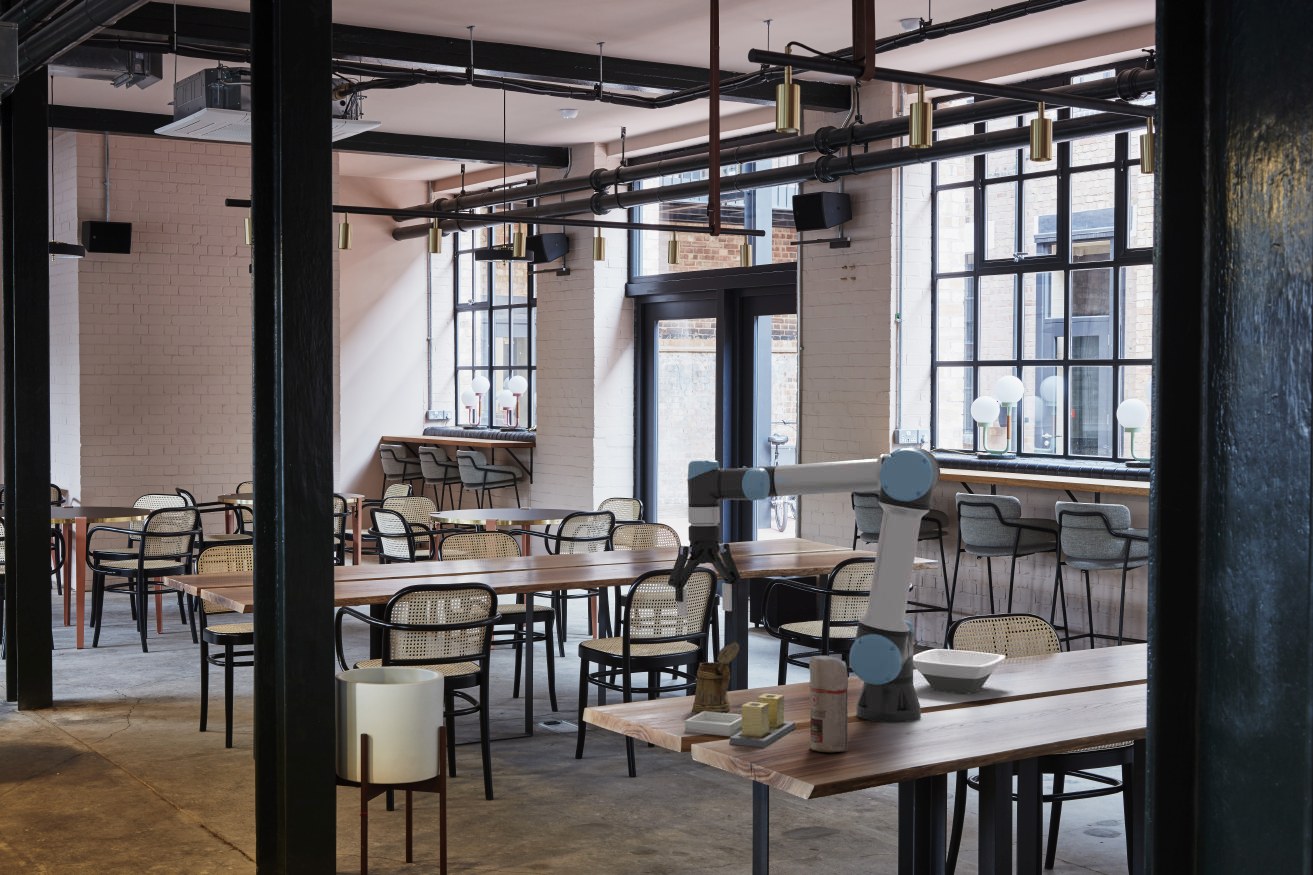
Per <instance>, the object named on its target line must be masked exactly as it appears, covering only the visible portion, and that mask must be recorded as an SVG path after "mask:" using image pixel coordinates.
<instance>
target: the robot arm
mask: <svg viewBox="0 0 1313 875" xmlns="http://www.w3.org/2000/svg"><path fill="white" fill-rule="evenodd" d="M687 466H688V467H687V468H688V469H687V478H686V479H687V500H688V501H687V504H688V505H687V507H688V508H687V509H688V510H687V511H688V512H687V514H688V515H687V516H688V521H687V522H688V523H689V524H690V525H689V526H688V529H687V530H688V532H687V533H688V540H689V546H685V545H679V546H678V552H677V557H676V559H675V563H674V566H673V568H672V571H671V573H670V576H669V578H668V581H667V585H668V586H671V587H672V588H674V589H675V594H674V595H675V597H674V598H675V602H677V616H682V617H687V616H688V588H687V587H685V586H686V584H687V582H688V581H689V580H690V578H691V576H692V574H693V573H694V572H695V570H696V568H697V567H699V565H704V564H712V566H713V567H714V568H715V570H716V571H717V573H718V574H719V576H720V577H721V579H722V580H723V581H724V582H723V583H721V594H722V596H721V597H722V598H721V599H722V600H721V601H722V604H721V605H722V607H721V608H722V609H721V610H722V611H724V612H725V611H727V612H732V611H733V605H732V604H733V602H732V601H733V597H734V595H735V593H734V590H735V589H734V585H735V584H737V582H738V581H740V580H741V575H740V573H739V570H738V568H737V565H736V563H735V560H734V558H733V555H732V554H731V553H732V552H731V546H730V544H729V543H728V542H727V543H726V542H720V543H719V541H720V539H721V534H720V533H721V531H720V530H721V529H720V527H721V526H720V525H718V524H719V523H720V522H721V519H720V513H721V512H720V501H725V500H727V501H731V500H733V501H751V502H753V501H760V500H761V501H762V500H765V499H767V498H774V497H785V496H789V497H790V496H804V495H805V496H806V495H823V494H838V493H839V494H840V493H853V492H854V493H856V492H871V491H873V492H874V491H875V492H876V491H879V494H878V502H877V503H878V505H879V506H880V507H881V509H882V511H883V512H882V513H883V514H882V519H881V523H880V524H881V525H880V530H879V531H880V532H879V535H878V536H879V537H878V543H877V549H876V554H875V555H876V556H875V562H874V568H873V572H872V579H871V585H870V590H869V596H868V603H867V608H866V612H865V614H864V615H862V616H861V617H860V618H859V619H858V622H857V628H856V634H855V640H854V642H853V643H852V646H851V648H850V650H849V663H850V664H849V666H850V667H851V669H852V672H853V673H854V674H855V675H856V676H857V677H858V678H859V679H860V680H861V681H863V684H862V688H861V690H860V694H859V697H858V700H857V703H856V716H857V717H859V718H860V719H861V718H862V719H864V720H868V721H874V722H875V721H876V722H883V723H884V722H887V723H897V722H898V723H900V722H901V723H902V722H912V721H917V720H919V719H920V718H921V717H922V716H921V713H922V709H921V704H920V702H919V698H918V695H917V692H916V689H915V685H914V666H913V656H914V636H915V633H914V625H913V623H912V622H911V621H909V620H905V618H906V612H907V605H908V599H909V593H910V587H911V582H912V576H913V570H914V565H915V564H914V563H915V557H916V551H917V545H918V540H919V534H920V527H921V521H922V518H923V517H924V516H925V515H926V514H928V513H929V512H930V509H931V503H932V498H933V491H934V489H936V487H937V485H938V484H939V481H940V477H941V467H940V464H939V462H938V459H937V458H936V456H934V454H932V453H931V452H930V451H928V450H926V449H924V448H920V447H901V448H898V449H895V450H893V451H892V452H890V453H883V454H881V455H880V456H879V457H877V458H871V459H869V458H868V459H855V460H844V461H843V460H842V461H839V460H838V461H829V462H828V461H827V462H812V463H800V464H799V463H798V464H787V465H786V464H784V465H782V464H781V465H773V466H771V465H769V466H754V467H741V468H739V467H738V468H723V467H720V463H719V461H718V460H692V461H690V462H689V463H688V465H687ZM718 553H720V556H721V557H720V556H719V554H718ZM689 555H690V556H689Z"/></svg>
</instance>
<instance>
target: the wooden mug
mask: <svg viewBox="0 0 1313 875" xmlns="http://www.w3.org/2000/svg"><path fill="white" fill-rule="evenodd" d="M739 651H740V644H739V643H738V642H736V641H732V642H730V643H727V644H726V645H725V646H723V647H722V648H721V649H720V650H719V651H718V653H717V656H716V660H717V662H711V661H710V662H708V661H707V662H706V661H705V662H700V663H699V665H698V669H697V672H696V676H697V680H696V686H695V687H696V688H695V692H694V693H695V694H694V702H693V705H692V708H691V709H692V711H693V712H695V713H698V714H699V713H701V712H703V711H708V712H718V713H728V712H730V710H731V703H730V701H729V697H728V690H729V685H730V682H731V671H730V667H729V664H730V663H731V662H733V660H735V658H736V657H737V655H738V653H739Z"/></svg>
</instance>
